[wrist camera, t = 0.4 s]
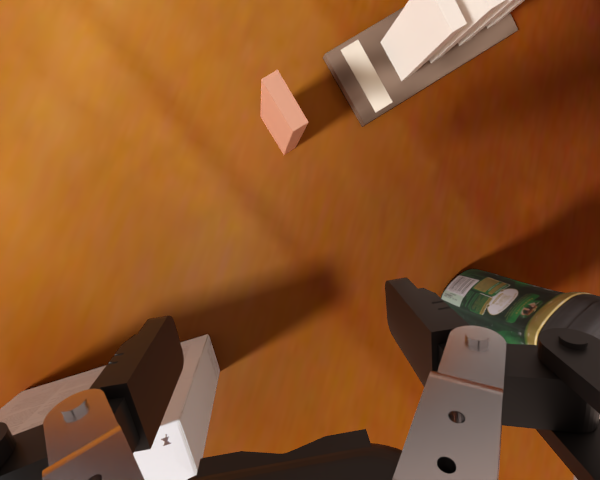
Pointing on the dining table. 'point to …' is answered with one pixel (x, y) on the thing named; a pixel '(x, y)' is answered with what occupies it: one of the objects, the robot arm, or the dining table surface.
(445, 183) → the dining table surface
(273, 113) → the domino
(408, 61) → the domino
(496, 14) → the domino
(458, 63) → the domino board
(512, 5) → the domino
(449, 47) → the domino
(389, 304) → the robot arm
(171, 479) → the skincare box
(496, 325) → the coffee jar
